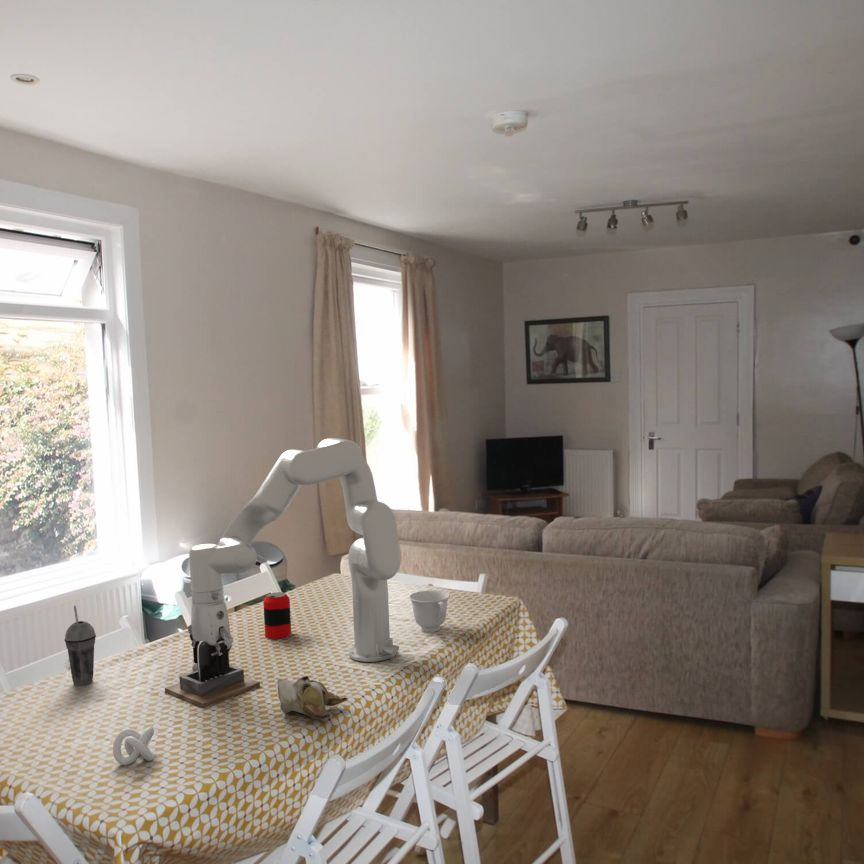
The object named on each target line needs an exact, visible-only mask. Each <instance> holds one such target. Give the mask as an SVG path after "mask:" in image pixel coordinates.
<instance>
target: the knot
mask: <svg viewBox="0 0 864 864" xmlns="http://www.w3.org/2000/svg"><path fill="white" fill-rule="evenodd" d="M154 733H155V729H154V727H152V726H148V727H146V728H145V729H144V730H143V732H142V734H140V733H139V732H138V731H137V730H135V729H134V728H129V727H128V728H124V729H122V730H121V731H119V732H118V734H117V735H116V737H115V739H114V741H113V746H112V753H113V757H114V759H115V762H117V764H119V765H121V766H129V765H132V764H133V763H134V762H135V761H136V760H137V759H138V757H140V755H141V756H142V757H143V758H144V759H145V760H146V761H147V762H151V761H152V760H153V759H154V755H153V753H152V752H151V749H150V748H149V747H148V745H149V743H150V742H151V740H152V738H153V736H154ZM123 740H124V748H125V751H126V753H127V755H128V756H127V757H125V756H124V754H123V753H122V743H123Z"/></svg>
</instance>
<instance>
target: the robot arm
mask: <svg viewBox="0 0 864 864" xmlns="http://www.w3.org/2000/svg"><path fill="white" fill-rule="evenodd" d="M337 478H338V480H339V481H340V484H341V487H342V493H343V499H344V501H343V502H344V507H345V514H346V521H347V524H348V527H349V528H350V529H351V531H353V532H355V533H356V534H359V535H361V536H362V537H360V538H358V539H356V540H355V541H353V542H352V544H351V545H350V548H349V551H348V556H347V560H348V566H349V567H348V568H349V572H350V578H351V579H350V580H351V587H352V588H351V589H352V591H351V592H352V610H353V611H352V612H353V613H352V615H353V616H352V617H353V639H354V646H353V647H351V648H350V649H349V651H348V654H349V656H348V657H349V658H351V659H352V660H353V661H354V660H355V661H358V662H361V663H362V662H363V663H374V662H375V663H376V662H382V661H386V660H389V659H391V658H393V657H394V656H396V654H398V653H397V652H398V651H399V650H400V646H399V645H396V644H394V643H393V638H392V637H391V633H390V611H389V586H388V580H390V579H392V578H394V576H396V575H397V573H398V572H399V570H400V567H401V562H402V556H401V554H402V553H401V546H400V540H399V532H398V530H399V529H398V523H397V520H396V517H395V514H394V512H393V511H392V509H391V508H390V507H389V505H388V504H385V503H383V501H382V502H381V501H379V500H378V497H377V491H376V485H375V480H374V475H373V473H372V469H371V468H370V465H369V464H368V462H367V460H366V459H365V458H364V455H363V450H362V448H361V446H360V445H359V444H358V443H356V442H355V441H353V440H351V439H344V438H337V437H328V438H324V439H323V440H321V441H320V442H319V443H318V445H317V446H316V448H313V449H308V450H301V449H288V450H286V451H284V452H283V453H281V455H280V456H279V458H278V459H277V461H276V462H275V463H274V465H273V467H272V468H271V470H270V471H269V473H268V474H267V476H266V477H265V479H264V481H263V482H262V484H261V486H259V488H258V490H257V492H256V493H255V495H254V496H253V497H252V498H251V499H250V500H249V501H248V502H247V503H246V504H245V505H244V507H243V508H242V509H241V510H240V511H239V512H238V513H237V514H236V515H235V517H234V518H233V519H232V521H230V523H229V525H228V526H227V527H226V530H225V531H224V533H223V534H222V536H221V537H220V538H219V540H218V542H217V544H215V543H204V544H203V543H201V544H197V545H194V546H192V547H191V548H190V549H189V555H188V556H189V576H190V591H191V592H190V593H191V612H190V614H191V617H190V621H191V622H190V624H189V625H188V626H187V631H188V633H189V640H191V647H192V650H193V654H192V655H193V663H194V664H197V645H198V643H199V642H200V641H203V642H206V643H208V644H209V645H211V646H214V647H215V649H216V651H217V654H218V655H216V666H217V671H218V672H220V671H223V670H226V669H229V665H230V652H231V649H232V645H233V642H234V637H233V636H232V635H231V627H230V626H231V625H230V620H229V618H230V617H229V612H228V609H227V608H228V607H227V605H226V601H225V595H224V594H225V593H224V591H225V590H224V589H225V588H224V574H243V573H246V572H250V570H252V569H253V568H254V566H256V563H257V560H258V559H257V558H258V556H257V551H256V550H255V548H254V547H253V546H252V545H251V543H252V542H253V541H254V539H255V538H256V536H257V535H258V534H259V533H260V531H262V529H263V528H265V527H266V526H267V525H269V524H270V523H273V522H274V521H276V520H278V519H279V518H281V517H282V516H283V515H284V514H285V513H286V511H287V510H288V509H289V507H290V505H291V503H292V501H293V500H294V498H295V496H296V495H297V493H298V492H299V490H300V489H301V487H302V486H310V485H312V486H313V485H315V484H319V483H324V482H327V481H330V480H333V479H337ZM220 639H221V641H219V642H217V641H218V640H220ZM219 645H223V647H222V648H221V649H220V646H219Z"/></svg>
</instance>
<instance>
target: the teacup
mask: <svg viewBox="0 0 864 864" xmlns="http://www.w3.org/2000/svg"><path fill="white" fill-rule="evenodd" d="M450 597H451V595H450V594H449V593H448V592H446V591H441V590H421V591H417V592H414V593H411V594H410V595H409V597H408V599H409V600H410V601H411V604H412V611H413V617H414V621H415V622H416V624H417V625H418V626H419V627H420V630H421V631H422V632H424V633H425V632H426V633H434V632H438V631H440V630H441V625H443V624H444V622H445V621H446V618H447V609H448V608H447V607H448V600H449V598H450Z"/></svg>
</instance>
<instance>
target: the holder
mask: <svg viewBox="0 0 864 864" xmlns="http://www.w3.org/2000/svg"><path fill="white" fill-rule="evenodd" d="M260 683H261V682H260V681H258V680H256V679H253V678H249V677H247V676H245V672H244V668H240V667H237V666H235V665H232V664H229V669H226V670H225V674H224V675H222V676H219V677H216V678H213V679H210V680H207V681H205V682H200V681H199V680H198V670H197V671H194V672H193V671H191V672H188V673H186V674H183V675H180V676H179V682H178V683H175V684H173V685H172V684H171V685H170V686H167V687H165V688H164V692H165V693H166V694H169V695H171V696H173V697H176V698H178V699H181V700H183V701H185V702H188V703H191V704H192V705H196V706H198V707H200V708H207V707H210V706H211V705H214V704H216V703H219V702H222V701H224V700H227V699H230V698H232V697H235V696H237V695H240V694H243V693H245V692H248V691H250V690H252V689H256V688H258V687H260V685H261V684H260Z"/></svg>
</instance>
